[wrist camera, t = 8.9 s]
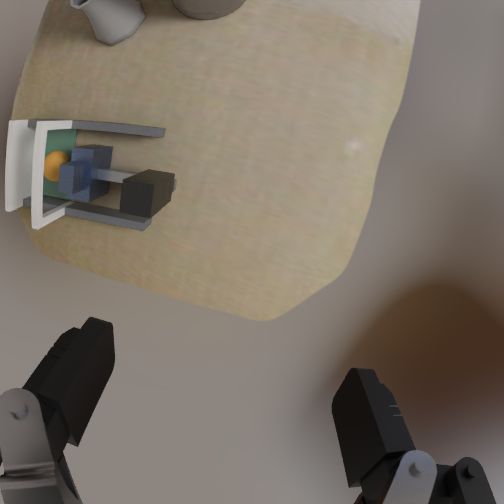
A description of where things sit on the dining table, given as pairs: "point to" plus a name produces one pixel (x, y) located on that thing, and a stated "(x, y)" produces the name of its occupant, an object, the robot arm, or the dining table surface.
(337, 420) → the robot arm
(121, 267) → the dining table surface
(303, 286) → the dining table surface
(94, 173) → the striker
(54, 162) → the ball
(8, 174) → the pitch
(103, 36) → the flask
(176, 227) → the dining table surface
